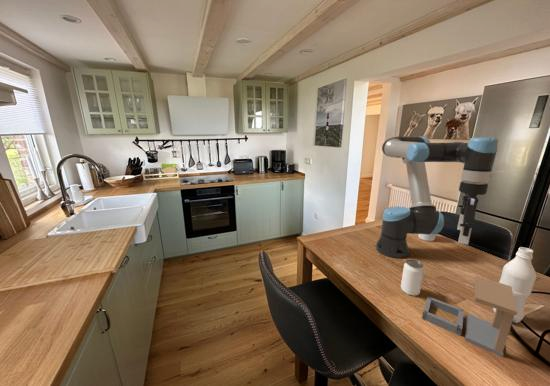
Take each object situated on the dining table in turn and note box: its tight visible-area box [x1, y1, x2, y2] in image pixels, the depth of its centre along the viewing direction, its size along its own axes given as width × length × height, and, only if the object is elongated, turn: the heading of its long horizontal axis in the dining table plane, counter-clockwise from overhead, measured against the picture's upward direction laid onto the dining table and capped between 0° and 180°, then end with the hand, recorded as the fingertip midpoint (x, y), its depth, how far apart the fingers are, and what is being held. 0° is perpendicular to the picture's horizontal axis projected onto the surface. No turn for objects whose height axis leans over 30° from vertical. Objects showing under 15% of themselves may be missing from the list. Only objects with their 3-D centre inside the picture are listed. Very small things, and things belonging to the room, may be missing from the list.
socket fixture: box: [421, 275, 517, 358], centre depth 69 cm, size 19×13×15 cm
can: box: [400, 259, 424, 297], centre depth 85 cm, size 6×6×12 cm
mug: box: [417, 234, 437, 242], centre depth 130 cm, size 11×9×10 cm
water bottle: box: [492, 246, 537, 324], centre depth 71 cm, size 7×7×25 cm
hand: (462, 236), depth 84 cm, fingers open, 13 cm apart
